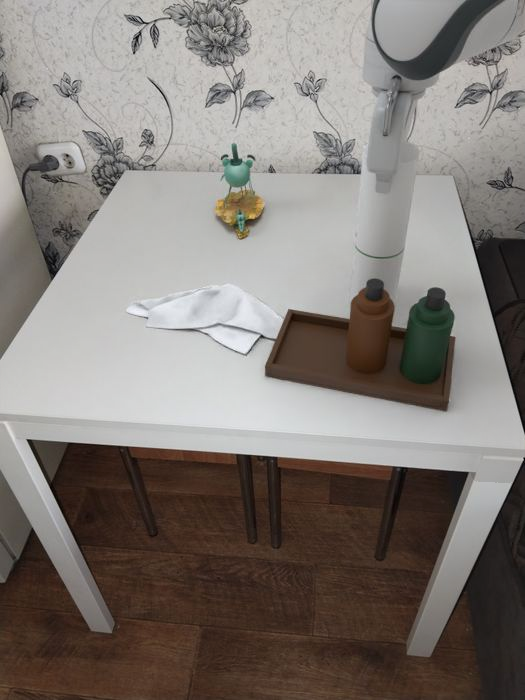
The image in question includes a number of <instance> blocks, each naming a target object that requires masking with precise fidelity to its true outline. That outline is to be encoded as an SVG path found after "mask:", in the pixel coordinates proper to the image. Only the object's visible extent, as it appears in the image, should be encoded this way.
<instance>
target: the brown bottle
mask: <svg viewBox="0 0 525 700" xmlns="http://www.w3.org/2000/svg"><path fill="white" fill-rule="evenodd" d="M349 308H350V310H349V318H348V319H349V330H348V341H347V352H346V361H347V364H348V365H349V366H350V367H351V368H352V369H353V370H355V371H357V372H360V373H365V374H371V373H376V372H378V371H380V370H382V369H383V368H384V366H385V364H386V359H387V353H388V347H389V340H390V334H391V328H392V326H393V322H394V314H395V308H396V305H395V306H394V303H393V301H392V300H391V299H390V296H389V294H388V292H387V291H386V290H384V282H383V281H382V280H380V279H376V278H373V279H369V280H368V281H367V283H366V288H363V289H361V290H360V291H359V293H358V295H356V296H355V297H354V298H353V299H352V301H351V304H350V307H349Z"/></svg>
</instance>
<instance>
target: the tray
mask: <svg viewBox="0 0 525 700" xmlns="http://www.w3.org/2000/svg"><path fill="white" fill-rule="evenodd" d="M283 319H284V321H283V323H282V326H281V328H280V331H279V333H278V336H277V338H276V339H274V343H273V345H272V348H271V350H270V352H269V355H268V357H267V360H266V362H265V365H264V376H265V377H268V378H273V379H279V380H284V381H289V382H293V383H294V382H295V383H298V384H305V385H309V386H314V387H318V388H319V387H320V388H325V389H330V390H333V391H334V390H336V391H340V392H345V393H350V394H356V395H361V396H366V397H371V398H376V399H381V400H386V401H391V402H396V403H402V404H405V405H407V404H408V405H411V406H412V405H413V406H416V407H423V408H427V409H431V410H437V411H443V412H447V411H448V407H449V404H450V399H451V398H450V397H451V389H452V388H451V387H452V380H453V379H452V378H453V377H452V376H453V367H454V356H455V349H456V348H455V346H456V337H457V336H455V335H450V339H449V343H448V347H447V351H446V355H445V359H444V363H443V367H442V371H441V375H440V377H439V378H438V379H437V380H436V381H434V382H432V383H429V384H418V383H414V382H411V381H409V380H408V379H406V378H405V377H404V376H403V375H402V374H401V372H400V361H401V355H402V350H403V344H404V339H405V333H406V328H407V327H400V326H394V325H392V328H391V334H390V340H389V347H388V353H387V359H386V364H385V366H384V368H383V369H382V370H380V371H378V372H376V373H371V374H365V373H360V372H357V371H355V370H353V369H352V368H351V367H350V366H349V365H348V364H347V361H346V352H347V341H348V330H349V319H350V318H345V317H339V316H334V315H328V314H322V313H316V312H310V311H304V310H298V309H292V308H288V310H287V311H286V314H285V316H284V318H283Z"/></svg>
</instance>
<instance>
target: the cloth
mask: <svg viewBox="0 0 525 700" xmlns="http://www.w3.org/2000/svg"><path fill="white" fill-rule="evenodd" d="M125 312H126V313H127V314H130V315H132V316H138V317H143V318H147V323H146V325H145V326H146V328H151V329H163V330H182V329H183V330H184V329H187V330H188V329H192V330H195V331H196V330H197V331H200V332H202V333H204V334H207V335H209V336H210V338H212V339H213V340H215V341H216V342H217V343H219V344H221V345H222V346H224V347H227V348H229V349H231V350H233V351H235V352H238V353H240V354H243V355H246V354H248V353H249V352H250V350H251V349H252V347H253V346H254V344H255V343H256V342H257V341H258V339H260V337H261V336H263V337H265V338H267V339H273V340H276V338H277V336H278V333H279V331H280V328H281V326H282V323H283V321H284V319H285V318H283V317H282V316H281V315H279V314H277V313H276V312H275V311H274V310H272V309H271V308H270V307H269V306H268V305H266V304H265V303H263V302H262V301H260V300H259V299H257V298H256V297H255V296H254V295H252V294H250V293H248V292H246V290H244V289H243V288H241V287H239V286H236V285H234V284H231V283H224V284H222V285H216V284H211V285H207V286H203V287H199V288H196V289H195V288H194V289H189V290H183V291H179V292H173V293H170V294H167V295H165V296H162V297H159V298H147V299H142V300H136V299H135V300H134V301H132V302H131V303H130V304H129V306H128V307H127V308H126V310H125Z"/></svg>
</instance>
